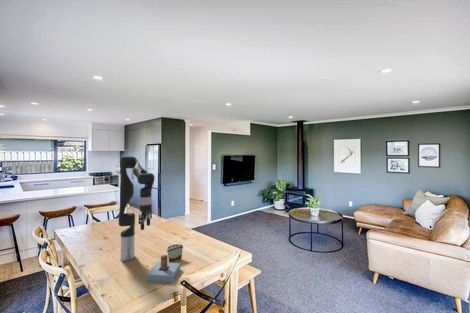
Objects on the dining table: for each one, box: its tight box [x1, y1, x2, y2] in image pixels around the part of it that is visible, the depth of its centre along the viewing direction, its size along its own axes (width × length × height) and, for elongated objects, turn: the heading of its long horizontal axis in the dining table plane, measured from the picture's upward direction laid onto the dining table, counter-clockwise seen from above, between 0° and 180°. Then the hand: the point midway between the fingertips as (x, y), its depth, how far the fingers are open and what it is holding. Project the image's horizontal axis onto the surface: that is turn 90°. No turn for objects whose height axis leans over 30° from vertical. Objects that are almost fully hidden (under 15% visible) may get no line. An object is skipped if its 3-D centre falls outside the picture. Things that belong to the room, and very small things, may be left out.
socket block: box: [145, 261, 181, 283], centre depth 148 cm, size 16×16×4 cm
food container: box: [166, 243, 184, 263], centre depth 169 cm, size 12×6×10 cm, turn 131°
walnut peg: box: [160, 254, 168, 271], centre depth 148 cm, size 4×4×12 cm
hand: (145, 227), depth 154 cm, fingers open, 8 cm apart
